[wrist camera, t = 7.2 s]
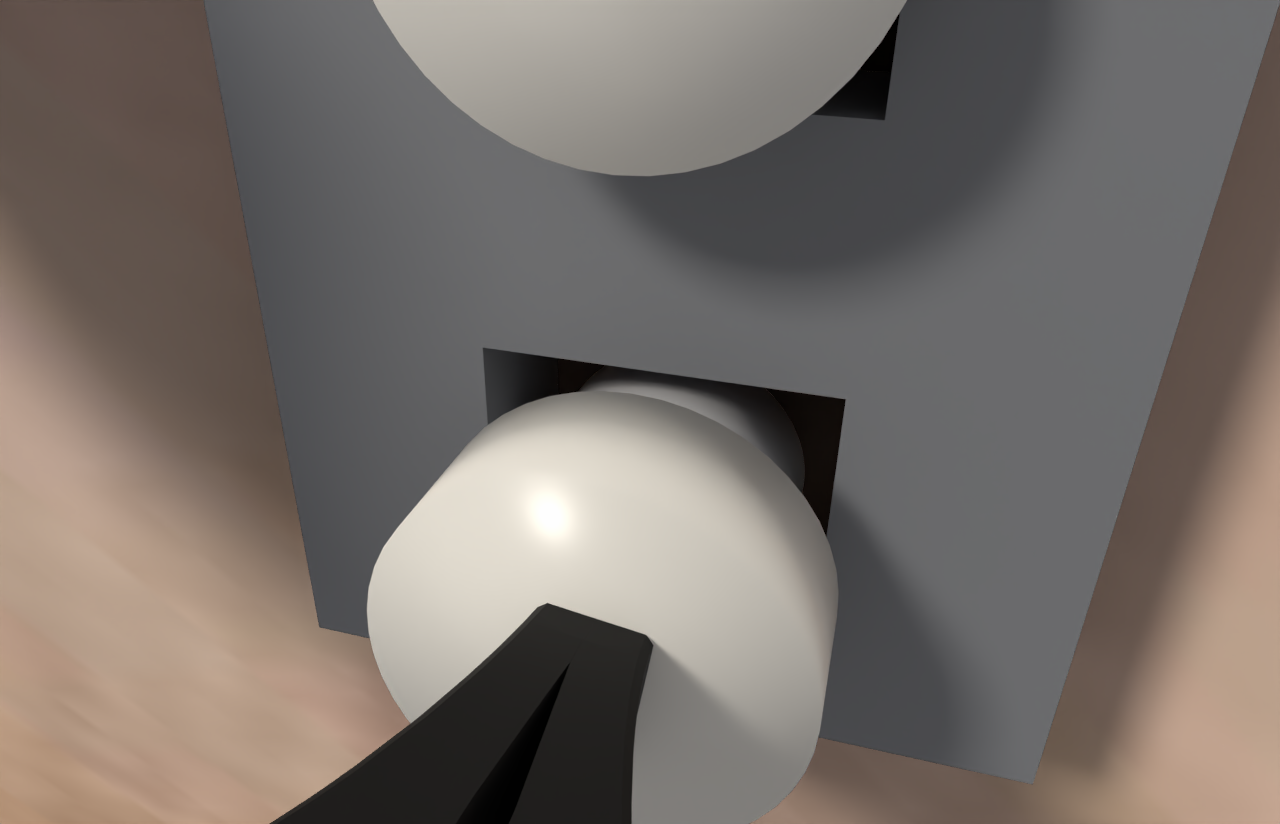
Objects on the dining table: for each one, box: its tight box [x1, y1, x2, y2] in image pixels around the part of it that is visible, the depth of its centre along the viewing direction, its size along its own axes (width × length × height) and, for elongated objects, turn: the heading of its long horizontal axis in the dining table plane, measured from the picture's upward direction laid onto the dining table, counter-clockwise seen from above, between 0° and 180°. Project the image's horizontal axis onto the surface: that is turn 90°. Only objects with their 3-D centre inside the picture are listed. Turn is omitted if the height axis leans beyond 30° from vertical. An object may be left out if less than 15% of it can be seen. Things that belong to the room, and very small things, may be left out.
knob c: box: [367, 365, 839, 824], centre depth 14 cm, size 6×6×5 cm
